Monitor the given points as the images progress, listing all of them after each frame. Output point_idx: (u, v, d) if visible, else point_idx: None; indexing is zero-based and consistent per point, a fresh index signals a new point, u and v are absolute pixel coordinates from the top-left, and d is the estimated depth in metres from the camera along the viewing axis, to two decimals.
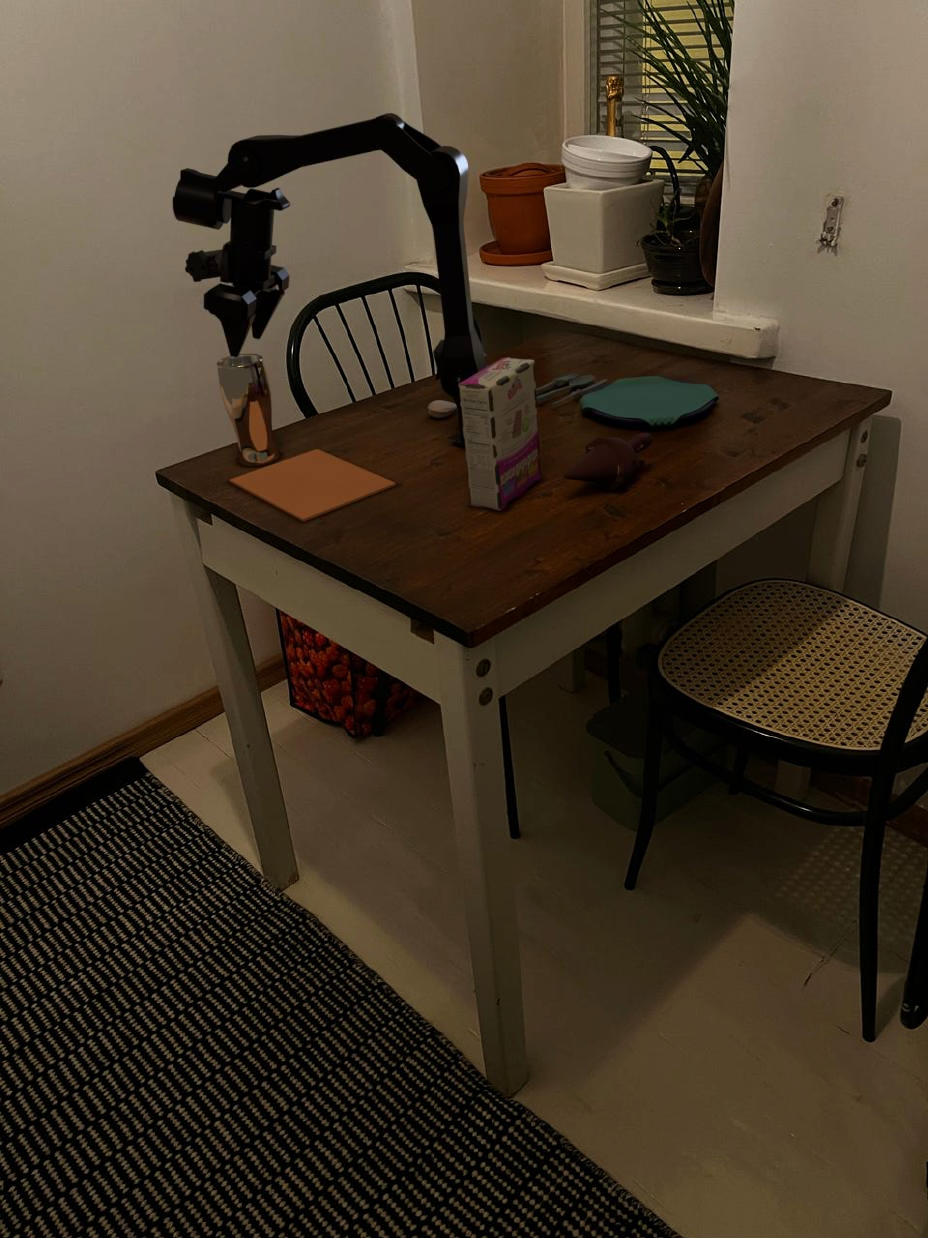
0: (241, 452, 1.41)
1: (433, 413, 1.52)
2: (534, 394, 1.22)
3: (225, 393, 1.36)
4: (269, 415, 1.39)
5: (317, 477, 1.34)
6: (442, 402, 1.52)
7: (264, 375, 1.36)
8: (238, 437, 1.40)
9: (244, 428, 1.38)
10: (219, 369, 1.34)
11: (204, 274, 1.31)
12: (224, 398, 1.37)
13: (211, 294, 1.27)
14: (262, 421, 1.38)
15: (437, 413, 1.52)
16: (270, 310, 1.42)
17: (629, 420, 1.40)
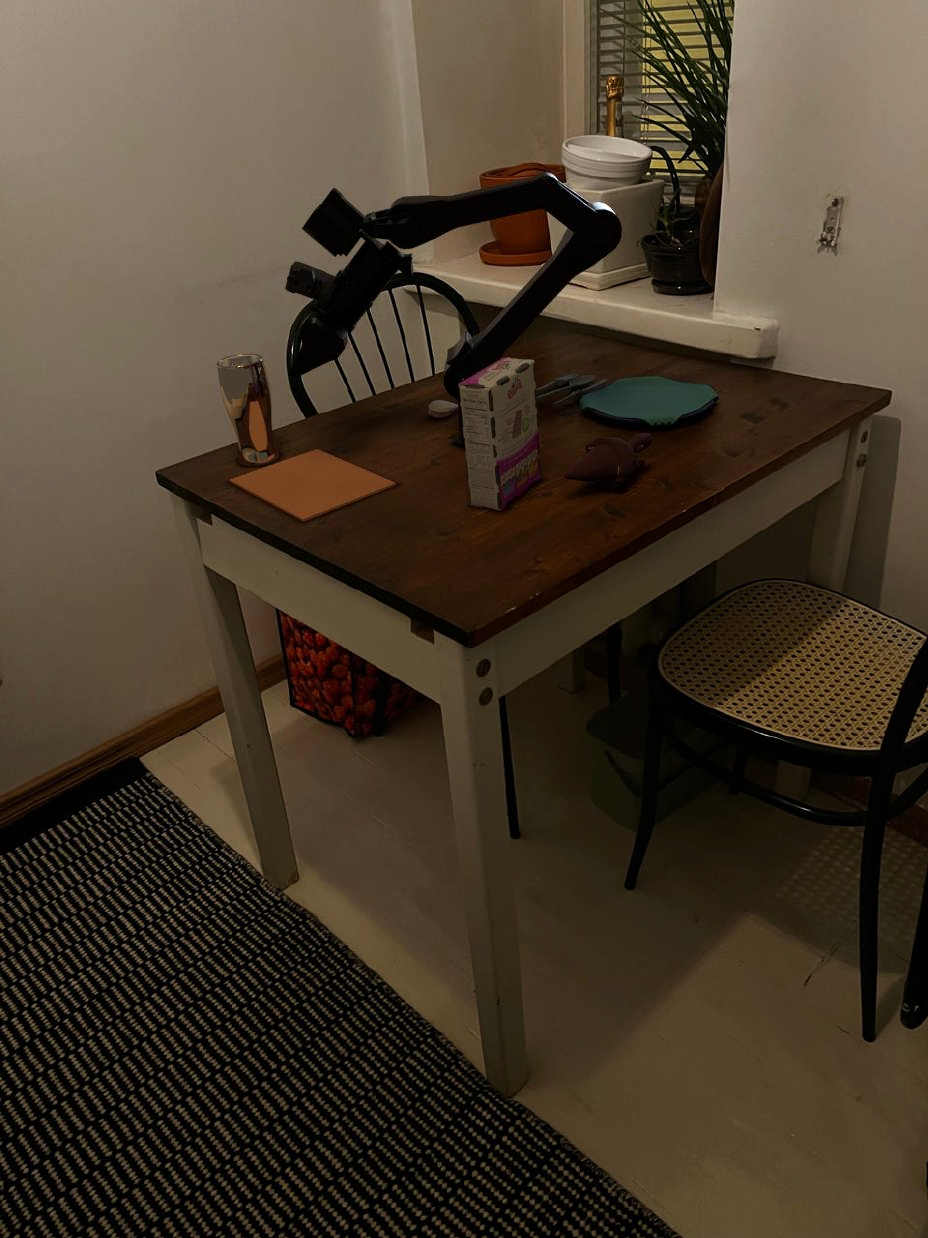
0: (241, 452, 1.41)
1: (433, 413, 1.52)
2: (534, 394, 1.22)
3: (225, 393, 1.36)
4: (269, 415, 1.39)
5: (317, 477, 1.34)
6: (442, 402, 1.52)
7: (264, 375, 1.36)
8: (238, 437, 1.40)
9: (244, 428, 1.38)
10: (219, 369, 1.34)
11: (306, 293, 1.27)
12: (224, 398, 1.37)
13: (315, 323, 1.24)
14: (262, 421, 1.38)
15: (437, 413, 1.52)
16: None
17: (629, 420, 1.40)
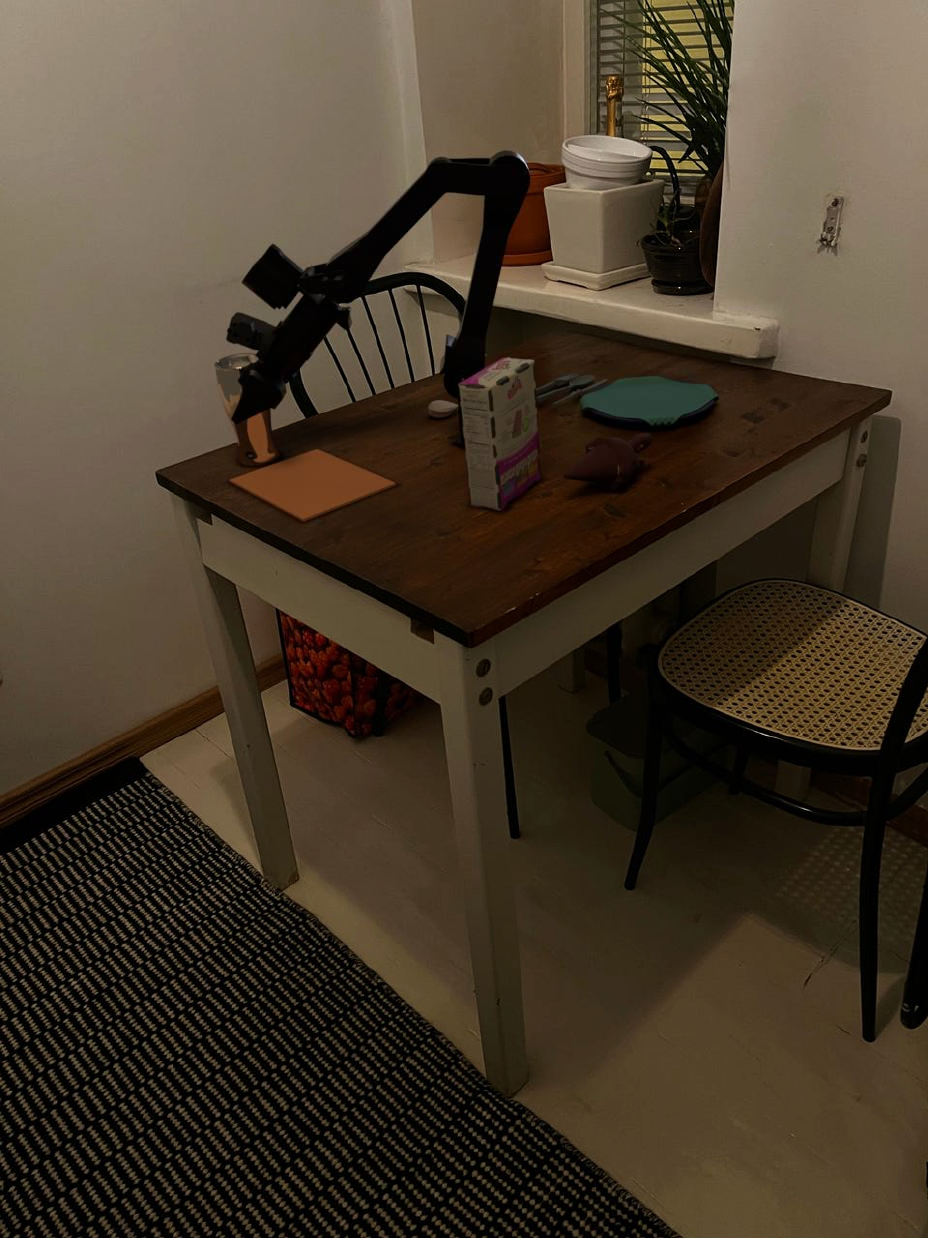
0: (241, 452, 1.41)
1: (433, 413, 1.52)
2: (534, 394, 1.22)
3: (223, 394, 1.35)
4: (268, 415, 1.39)
5: (317, 477, 1.34)
6: (442, 402, 1.52)
7: None
8: (238, 437, 1.40)
9: (243, 429, 1.38)
10: (217, 370, 1.34)
11: (245, 345, 1.30)
12: (223, 399, 1.36)
13: (253, 375, 1.27)
14: (261, 422, 1.38)
15: (437, 413, 1.52)
16: None
17: (629, 420, 1.40)
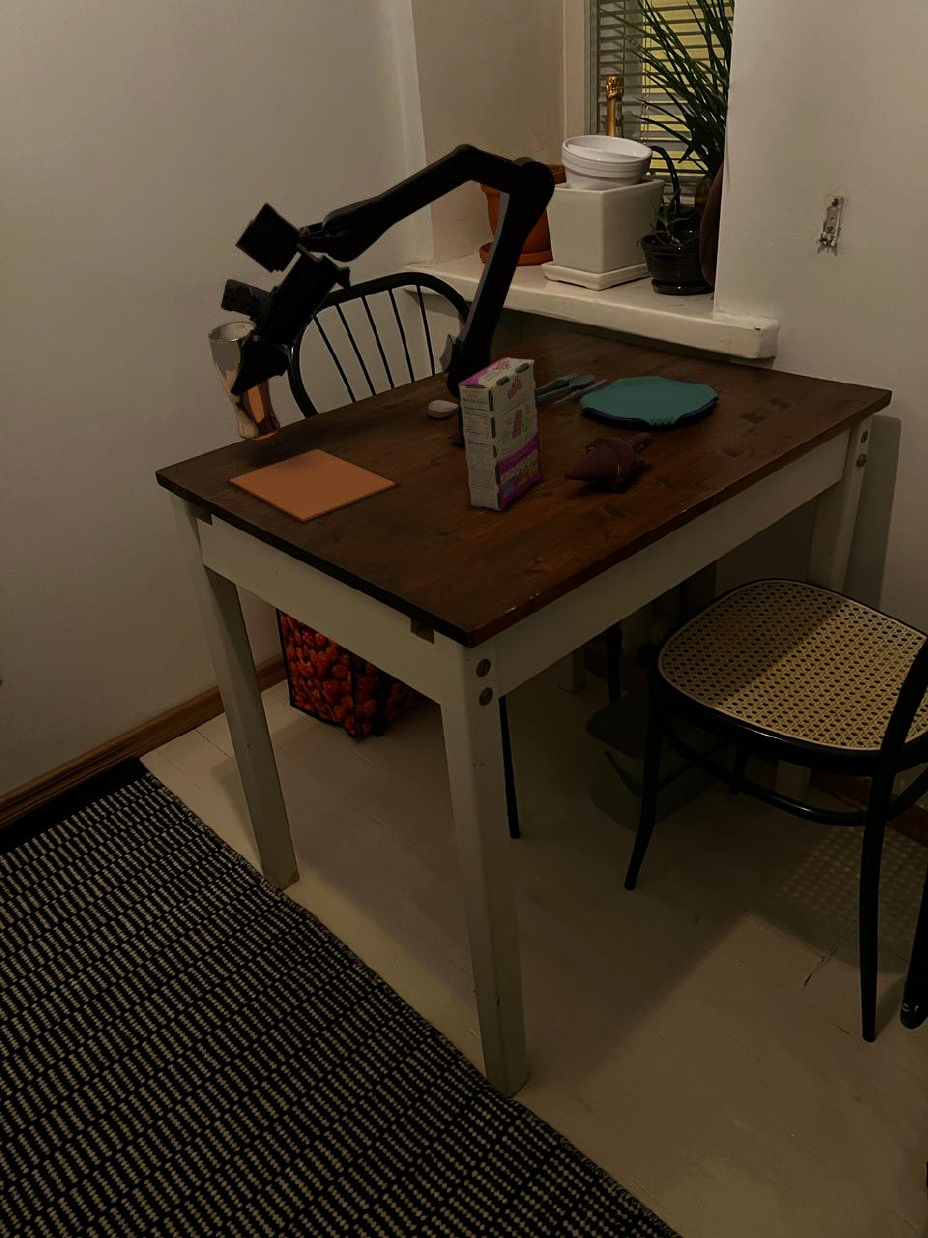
0: (240, 426, 1.35)
1: (433, 413, 1.52)
2: (534, 394, 1.22)
3: (220, 368, 1.29)
4: (267, 386, 1.33)
5: (317, 477, 1.34)
6: (442, 402, 1.52)
7: None
8: (236, 411, 1.34)
9: (242, 403, 1.32)
10: (211, 343, 1.27)
11: (244, 311, 1.24)
12: (219, 373, 1.30)
13: (258, 341, 1.21)
14: (260, 394, 1.32)
15: (437, 413, 1.52)
16: None
17: (629, 420, 1.40)
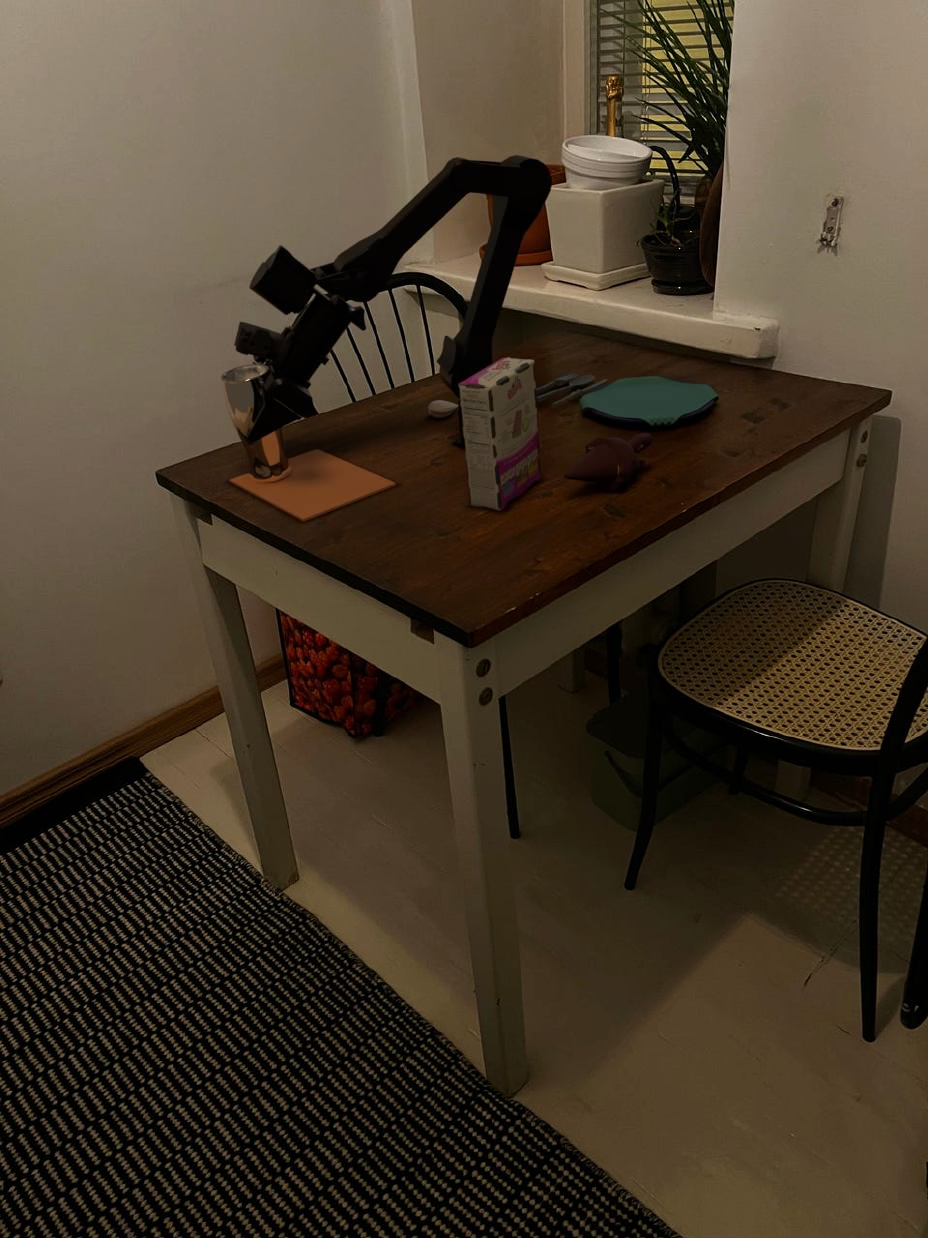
0: (254, 469, 1.34)
1: (433, 413, 1.52)
2: (534, 394, 1.22)
3: (235, 409, 1.28)
4: None
5: (317, 477, 1.34)
6: (442, 402, 1.52)
7: None
8: (250, 454, 1.33)
9: (257, 444, 1.31)
10: (226, 384, 1.27)
11: (263, 354, 1.23)
12: (234, 415, 1.29)
13: (284, 384, 1.20)
14: (275, 434, 1.31)
15: (437, 413, 1.52)
16: None
17: (629, 420, 1.40)
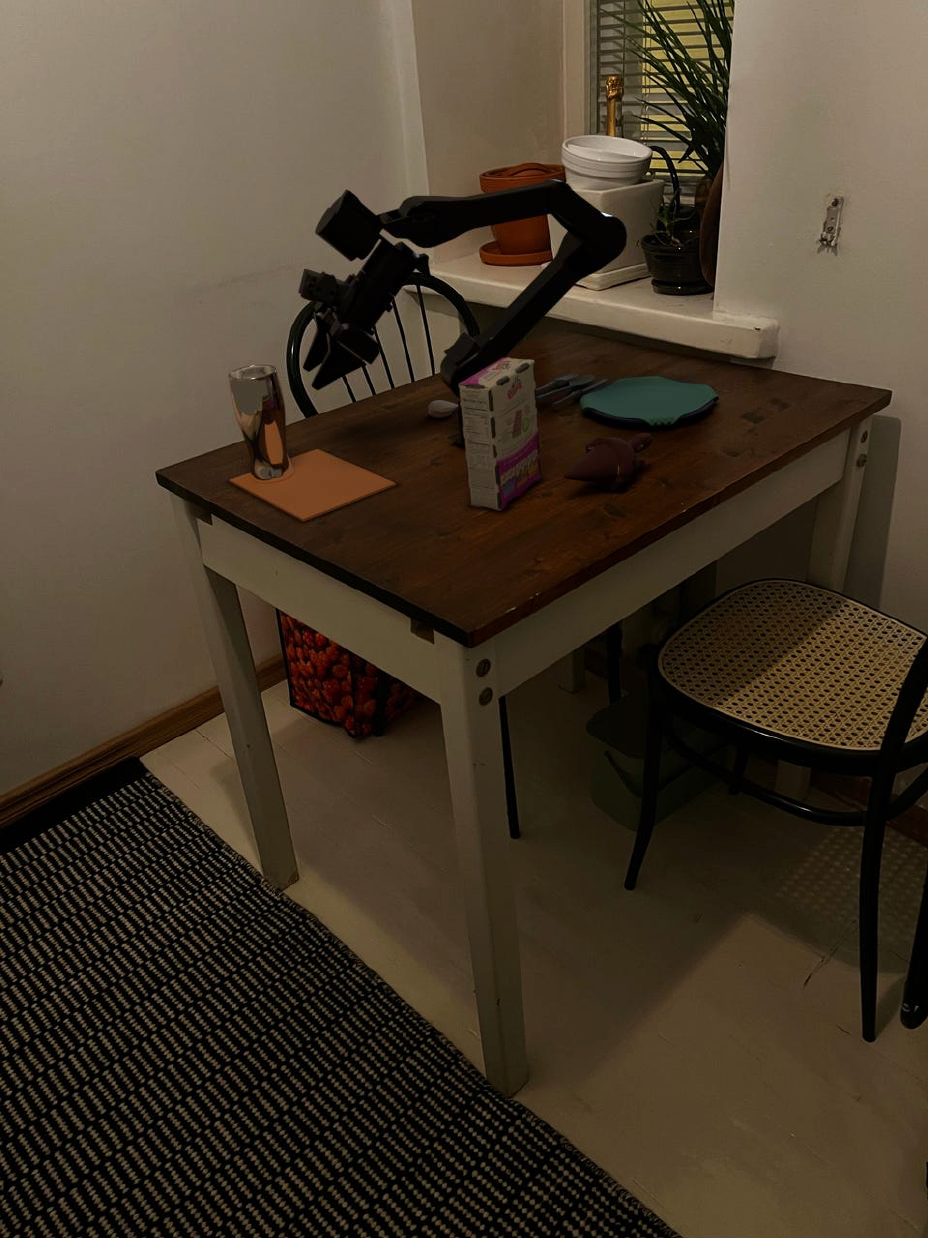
0: (255, 469, 1.34)
1: (433, 413, 1.52)
2: (534, 394, 1.22)
3: (240, 407, 1.28)
4: (284, 428, 1.33)
5: (317, 477, 1.34)
6: (442, 402, 1.52)
7: (280, 386, 1.30)
8: (252, 453, 1.33)
9: (260, 443, 1.31)
10: (233, 382, 1.27)
11: (329, 299, 1.22)
12: (238, 413, 1.29)
13: (351, 328, 1.19)
14: (279, 435, 1.32)
15: (437, 413, 1.52)
16: None
17: (629, 420, 1.40)
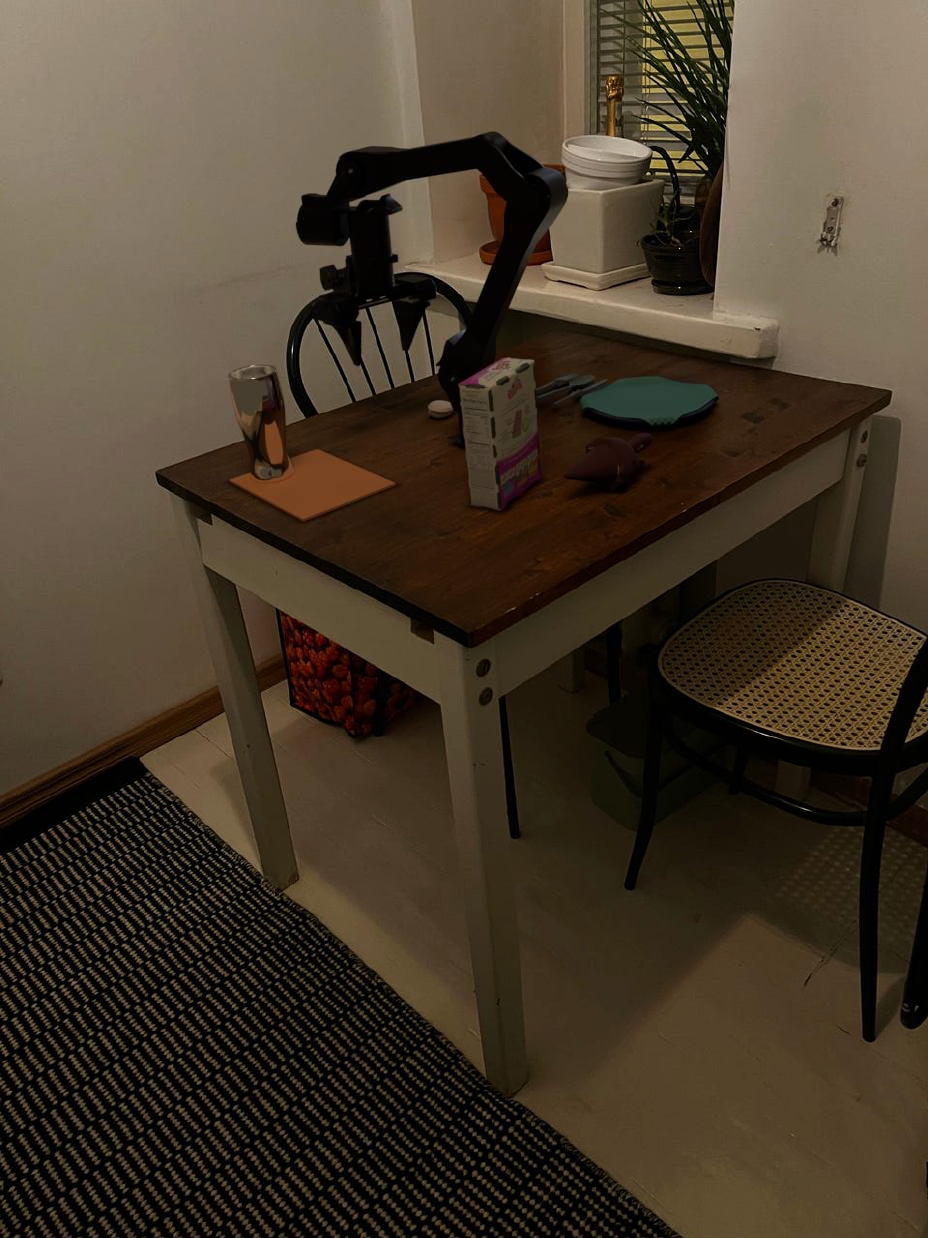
0: (255, 469, 1.34)
1: (433, 413, 1.52)
2: (534, 394, 1.22)
3: (240, 407, 1.28)
4: (284, 428, 1.33)
5: (317, 477, 1.34)
6: (442, 402, 1.52)
7: (280, 386, 1.30)
8: (252, 453, 1.33)
9: (260, 443, 1.31)
10: (233, 382, 1.27)
11: (330, 287, 1.37)
12: (238, 413, 1.29)
13: (315, 303, 1.33)
14: (279, 435, 1.32)
15: (437, 413, 1.52)
16: (412, 321, 1.41)
17: (629, 420, 1.40)
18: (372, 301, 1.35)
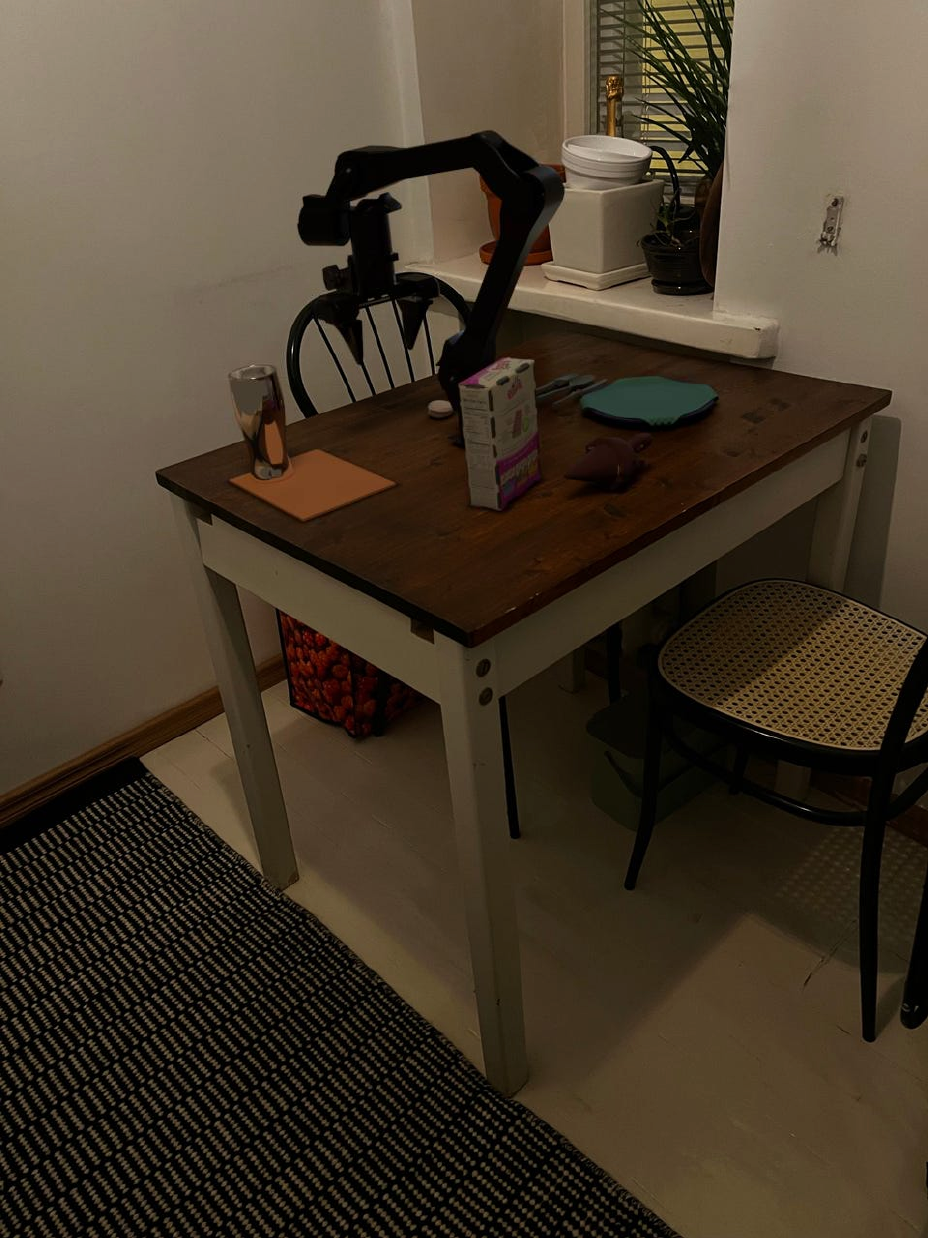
0: (255, 469, 1.34)
1: (433, 413, 1.52)
2: (534, 394, 1.22)
3: (240, 407, 1.28)
4: (284, 428, 1.33)
5: (317, 477, 1.34)
6: (442, 402, 1.52)
7: (280, 386, 1.30)
8: (252, 453, 1.33)
9: (260, 443, 1.31)
10: (233, 382, 1.27)
11: (333, 287, 1.38)
12: (238, 413, 1.29)
13: (316, 303, 1.33)
14: (279, 435, 1.32)
15: (437, 413, 1.52)
16: (415, 319, 1.41)
17: (629, 420, 1.40)
18: (373, 300, 1.36)
